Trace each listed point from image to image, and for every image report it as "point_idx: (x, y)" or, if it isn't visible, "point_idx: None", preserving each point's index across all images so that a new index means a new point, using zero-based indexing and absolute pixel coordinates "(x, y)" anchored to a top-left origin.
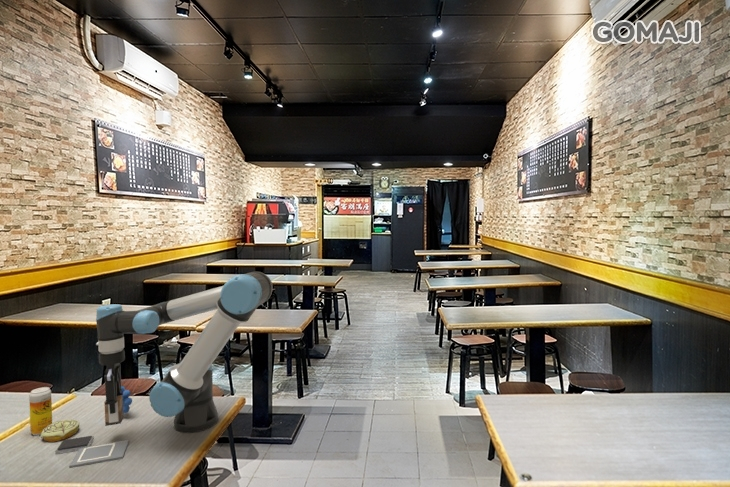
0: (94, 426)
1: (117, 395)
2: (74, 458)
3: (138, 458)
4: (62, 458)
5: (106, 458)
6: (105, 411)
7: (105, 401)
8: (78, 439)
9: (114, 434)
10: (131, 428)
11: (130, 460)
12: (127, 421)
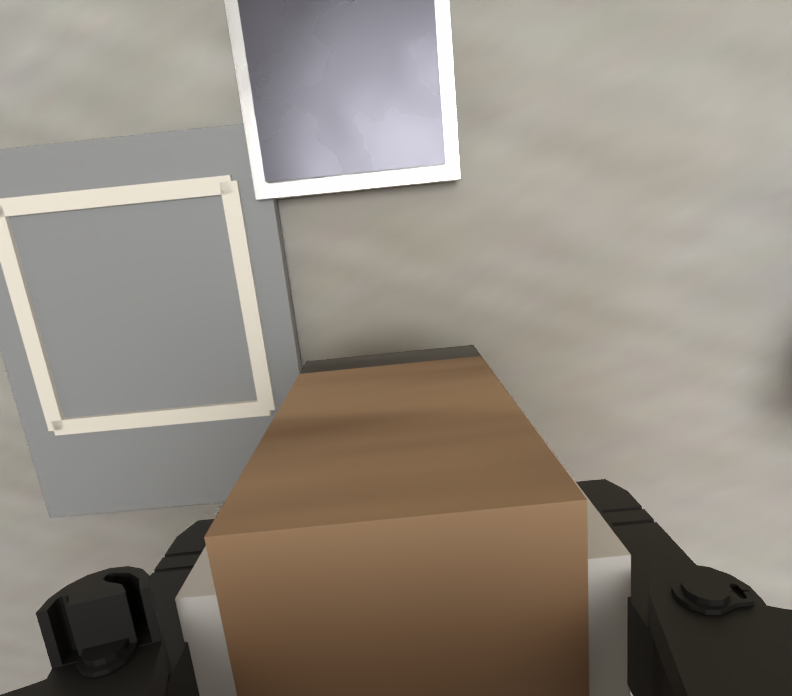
0: (749, 89)
1: (640, 686)
2: (67, 149)
3: None
4: (129, 20)
5: (35, 413)
6: (270, 440)
7: (255, 547)
8: (395, 51)
9: (489, 339)
10: (562, 447)
11: (26, 563)
12: (730, 378)
